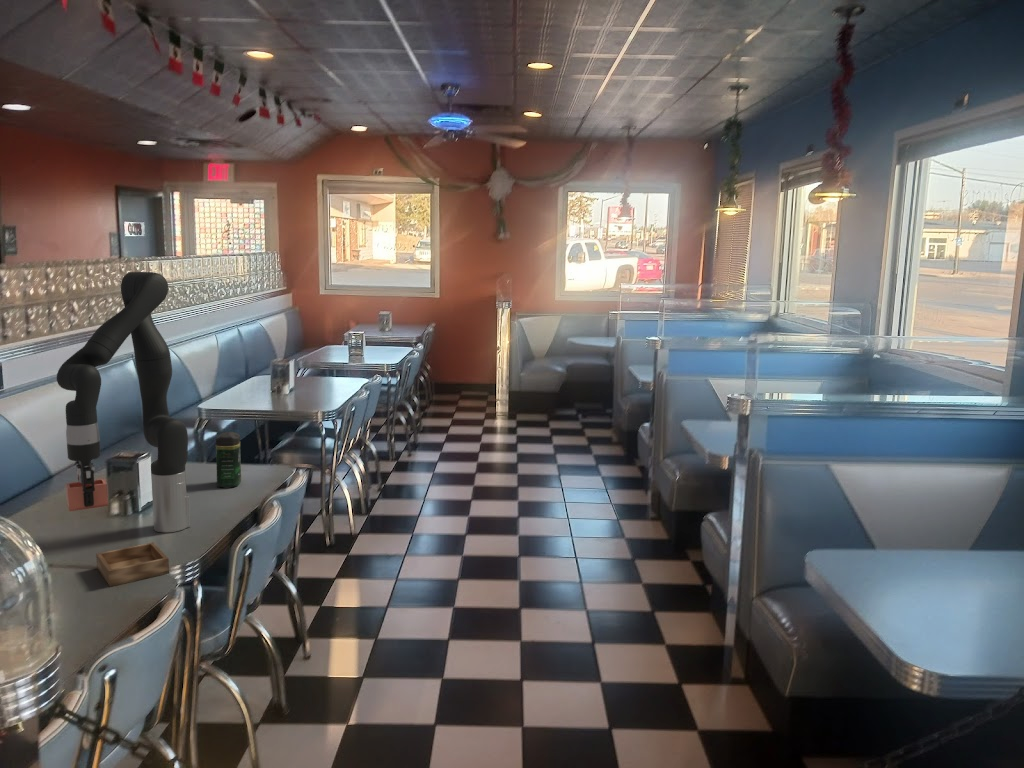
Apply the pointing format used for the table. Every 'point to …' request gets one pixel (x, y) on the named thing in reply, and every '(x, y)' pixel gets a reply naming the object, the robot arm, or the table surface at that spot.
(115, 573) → the wooden crate
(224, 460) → the coffee jar
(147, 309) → the robot arm
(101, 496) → the red open box
